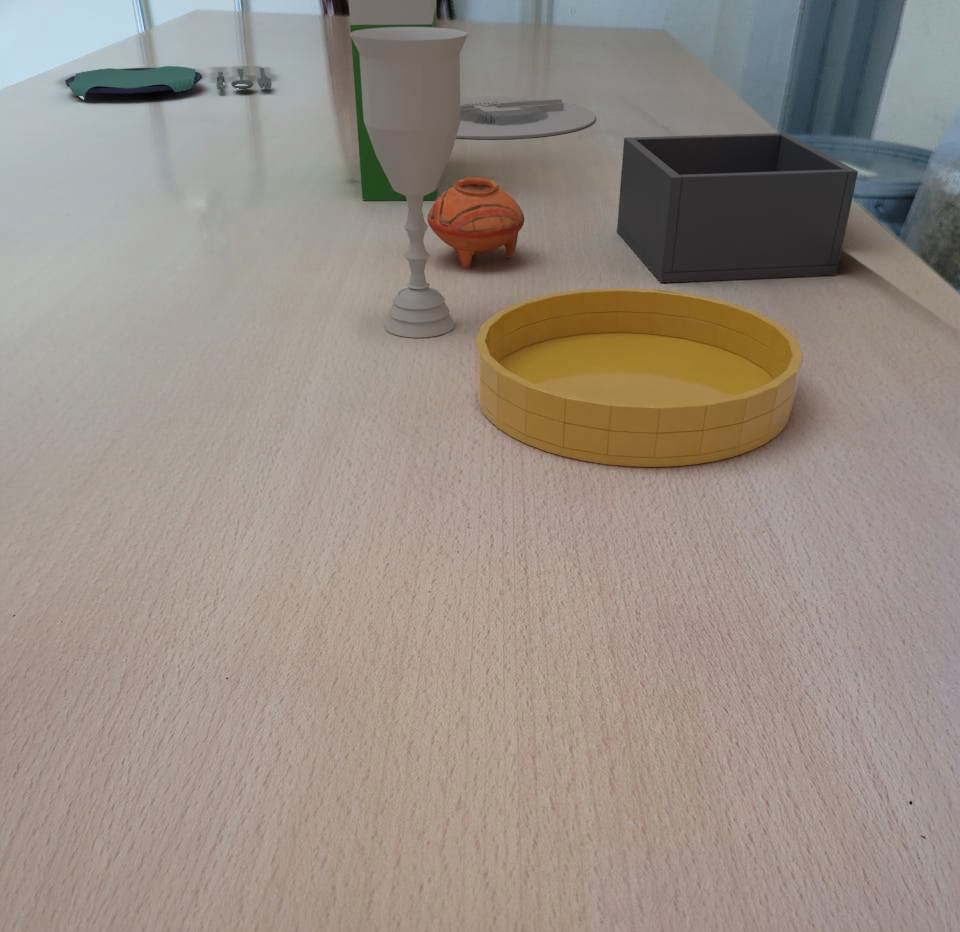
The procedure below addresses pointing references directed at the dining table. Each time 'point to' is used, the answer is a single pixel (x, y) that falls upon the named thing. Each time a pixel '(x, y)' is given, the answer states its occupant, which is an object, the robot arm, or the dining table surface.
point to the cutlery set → (148, 80)
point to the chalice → (412, 143)
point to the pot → (476, 218)
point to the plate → (519, 118)
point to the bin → (733, 206)
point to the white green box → (369, 7)
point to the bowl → (636, 376)
